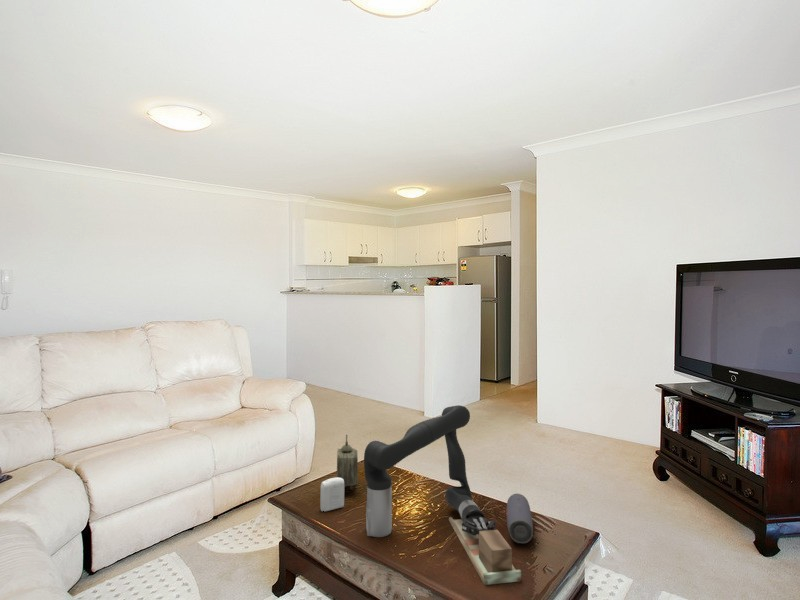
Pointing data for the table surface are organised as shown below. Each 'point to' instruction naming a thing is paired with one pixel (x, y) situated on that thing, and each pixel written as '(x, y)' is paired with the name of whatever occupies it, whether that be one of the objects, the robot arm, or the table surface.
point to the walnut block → (494, 551)
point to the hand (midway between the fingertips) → (487, 538)
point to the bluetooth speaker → (519, 519)
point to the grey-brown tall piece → (347, 465)
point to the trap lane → (472, 550)
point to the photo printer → (332, 494)
